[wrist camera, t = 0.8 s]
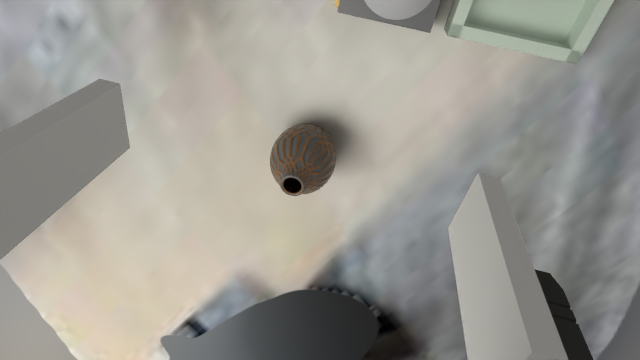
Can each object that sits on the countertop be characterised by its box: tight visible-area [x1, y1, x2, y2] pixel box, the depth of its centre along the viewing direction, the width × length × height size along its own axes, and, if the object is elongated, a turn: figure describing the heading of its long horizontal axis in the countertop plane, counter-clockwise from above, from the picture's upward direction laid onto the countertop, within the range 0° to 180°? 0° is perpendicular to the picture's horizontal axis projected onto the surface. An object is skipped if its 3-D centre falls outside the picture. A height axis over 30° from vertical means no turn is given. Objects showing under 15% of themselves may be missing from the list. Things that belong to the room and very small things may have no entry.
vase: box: [270, 124, 336, 196], centre depth 39 cm, size 7×7×9 cm
